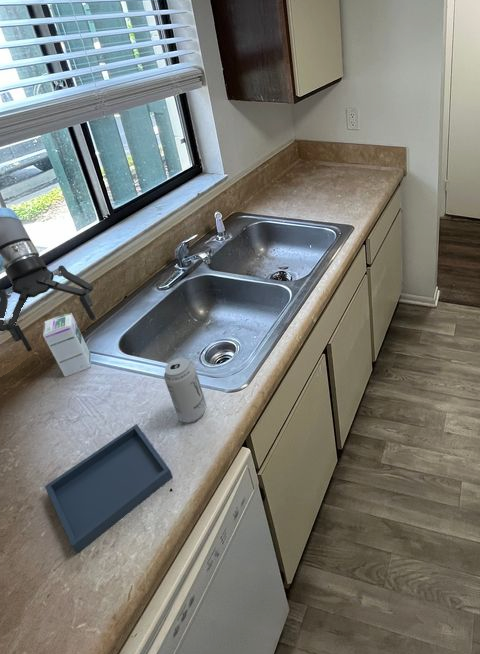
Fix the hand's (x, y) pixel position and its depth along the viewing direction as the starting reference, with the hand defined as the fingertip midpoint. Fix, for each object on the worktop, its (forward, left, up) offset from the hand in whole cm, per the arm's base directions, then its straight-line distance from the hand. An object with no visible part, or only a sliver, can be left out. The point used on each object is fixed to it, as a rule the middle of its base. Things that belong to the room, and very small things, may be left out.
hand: (62, 333), depth 110 cm
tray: (+42, -6, -10) cm, 43 cm away
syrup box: (+2, 0, -10) cm, 10 cm away
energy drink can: (+39, +12, -10) cm, 42 cm away
